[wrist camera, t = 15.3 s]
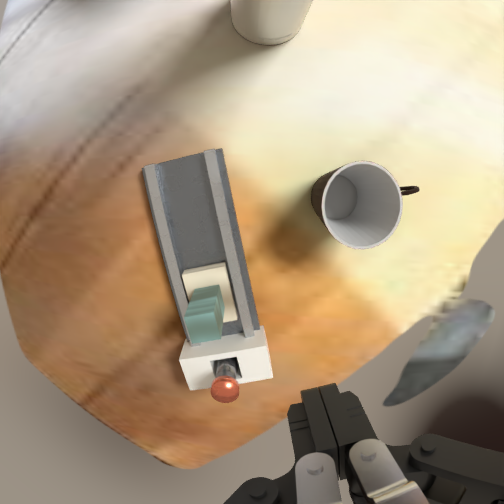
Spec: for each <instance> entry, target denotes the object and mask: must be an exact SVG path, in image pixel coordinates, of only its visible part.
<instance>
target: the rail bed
mask: <svg viewBox="0 0 504 504" xmlns="http://www.w3.org/2000/svg"><path fill="white" fill-rule="evenodd" d="M142 171H143V176H144V181H145V186H146V190H147V195H148V199H149V203H150V208H151V212H152V216H153V220H154V225H155V229H156V233H157V237H158V241H159V245H160V248H161V252H162V256H163V260H164V263H165V267H166V271H167V274H168V278H169V282H170V285H171V289H172V292H173V296H174V299H175V302H176V306H177V309H178V312H179V316H180V319H181V322H182V325H183V328H184V332H185V335H186V338H187V341H188V342H190V343H191V346H192V347H194V346H201V343H194V344H192V342H191V339H190V336H189V333H188V330H187V326H186V323H185V320H184V316H185V313H186V310H187V308H188V305H189V299H188V296H187V292H186V289H185V285H184V281H183V278H182V274H183V272H184V270H187V269H192V268H197V267H202V266H207V265H212V264H217V263H222V262H226V267H227V271H228V275H229V280H230V284H231V288H232V292H233V297H234V301H235V305H236V309H237V320H234V321H229V322H223V327H222V336H227V335H233V334H238V333H244V334H245V338H248V337H253V336H255V333H254V331H255V330H260V325H259V320H258V315H257V311H256V306H255V301H254V297H253V292H252V287H251V283H250V278H249V273H248V269H247V264H246V259H245V255H244V250H243V245H242V241H241V236H240V231H239V226H238V222H237V217H236V212H235V207H234V202H233V198H232V193H231V188H230V183H229V178H228V174H227V169H226V164H225V159H224V154H223V149H222V148H221V149H217V150H215V149H211V150H206V151H204V152H203V153H199V154H195V155H190V156H186V157H182V158H178V159H174V160H170V161H166V162H163V163H159V164H150V165H147V166H144V168H142Z"/></svg>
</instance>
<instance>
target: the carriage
mask: <svg viewBox="0 0 504 504" xmlns="http://www.w3.org/2000/svg"><path fill="white" fill-rule="evenodd" d="M182 278H183V281H184V285H185V289H186V292H187V296H188V299H189V305H188V308H187V310H186V313H185V316H184V320H185V323H186V326H187V330H188V333H189V336H190V339H191V342H192V344H194V343H201V342H207V341H213V340H219V339H221V336H222V327H223V322H229V321H234V320H237V309H236V305H235V301H234V297H233V292H232V288H231V284H230V280H229V275H228V271H227V267H226V262H222V263H217V264H212V265H207V266H202V267H197V268H192V269H187V270H184V272H183V274H182Z"/></svg>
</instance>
